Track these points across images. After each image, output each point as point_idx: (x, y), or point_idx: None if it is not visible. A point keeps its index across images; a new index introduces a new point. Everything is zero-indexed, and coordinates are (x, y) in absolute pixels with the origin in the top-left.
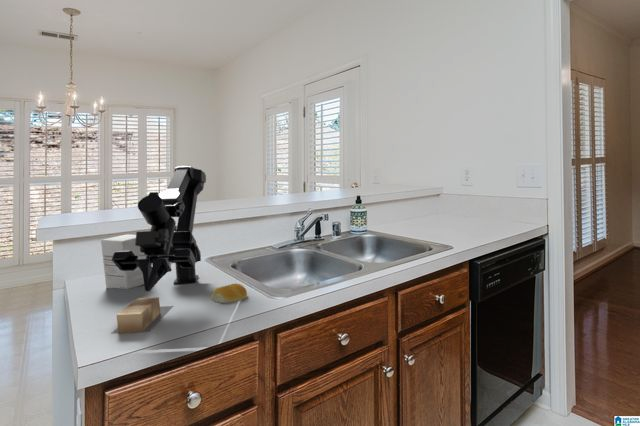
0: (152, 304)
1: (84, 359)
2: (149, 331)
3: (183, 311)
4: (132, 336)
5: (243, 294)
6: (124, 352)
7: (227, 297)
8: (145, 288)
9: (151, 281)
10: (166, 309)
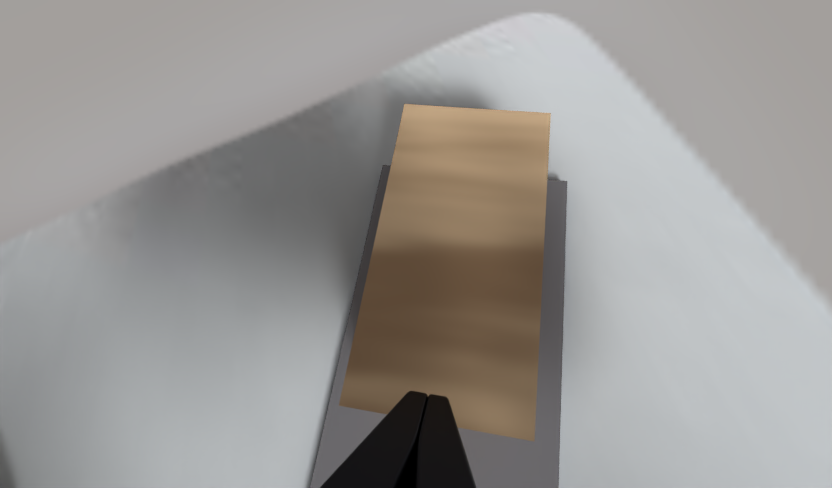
0: (371, 269)
1: (568, 25)
2: (383, 165)
3: (235, 438)
4: None
5: None
6: (442, 48)
7: None
8: (440, 397)
9: (360, 444)
10: None
